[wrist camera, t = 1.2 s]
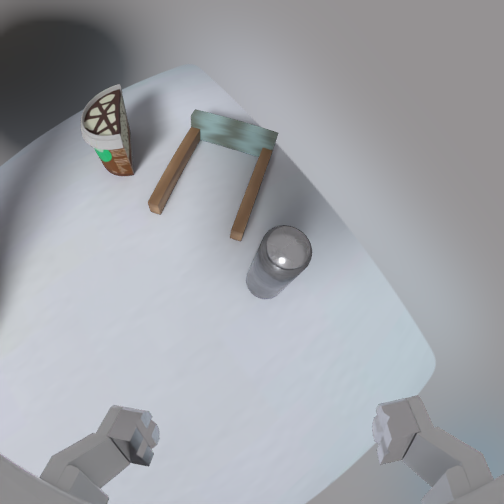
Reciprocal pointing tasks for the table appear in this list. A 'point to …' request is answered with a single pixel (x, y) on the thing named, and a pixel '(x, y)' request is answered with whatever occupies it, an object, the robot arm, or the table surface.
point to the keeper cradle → (228, 136)
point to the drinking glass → (278, 261)
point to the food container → (109, 131)
